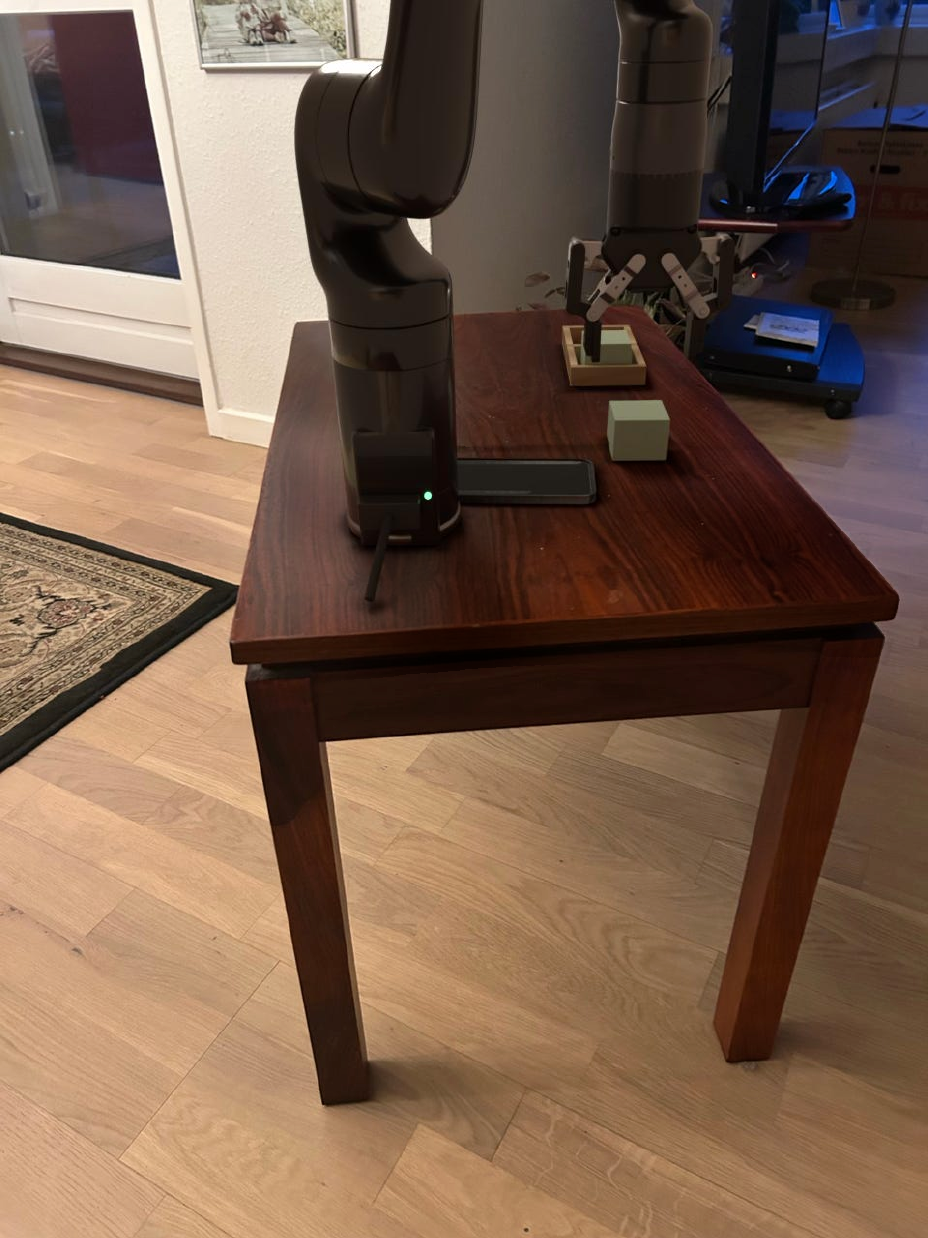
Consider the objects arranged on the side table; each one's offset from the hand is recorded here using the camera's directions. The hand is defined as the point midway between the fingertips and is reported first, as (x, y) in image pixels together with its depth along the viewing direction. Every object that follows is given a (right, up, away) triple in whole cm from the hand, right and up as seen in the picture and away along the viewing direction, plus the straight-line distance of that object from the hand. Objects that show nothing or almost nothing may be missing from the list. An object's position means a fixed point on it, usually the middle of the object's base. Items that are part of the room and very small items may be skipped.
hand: (642, 358), depth 86 cm
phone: (-12, -12, -1) cm, 17 cm away
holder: (0, +6, +24) cm, 25 cm away
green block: (0, -8, +4) cm, 9 cm away
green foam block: (0, +4, +21) cm, 21 cm away
